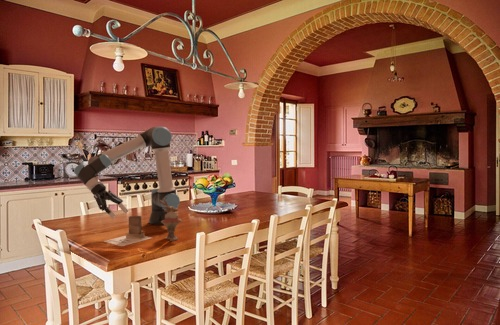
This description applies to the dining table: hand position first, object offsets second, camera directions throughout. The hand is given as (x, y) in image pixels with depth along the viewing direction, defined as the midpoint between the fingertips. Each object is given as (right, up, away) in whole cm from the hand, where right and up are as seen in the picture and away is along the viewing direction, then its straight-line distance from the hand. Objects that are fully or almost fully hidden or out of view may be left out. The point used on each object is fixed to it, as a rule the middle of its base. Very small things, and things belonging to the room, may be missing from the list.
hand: (121, 214), depth 194 cm
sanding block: (+8, -13, 0) cm, 15 cm away
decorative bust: (+28, -14, +3) cm, 31 cm away
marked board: (+5, -14, -4) cm, 16 cm away
